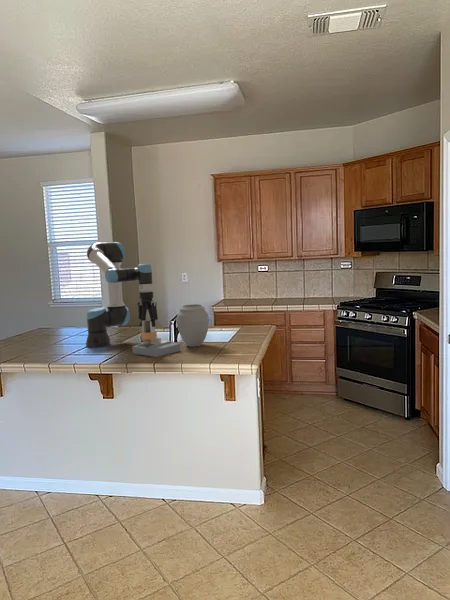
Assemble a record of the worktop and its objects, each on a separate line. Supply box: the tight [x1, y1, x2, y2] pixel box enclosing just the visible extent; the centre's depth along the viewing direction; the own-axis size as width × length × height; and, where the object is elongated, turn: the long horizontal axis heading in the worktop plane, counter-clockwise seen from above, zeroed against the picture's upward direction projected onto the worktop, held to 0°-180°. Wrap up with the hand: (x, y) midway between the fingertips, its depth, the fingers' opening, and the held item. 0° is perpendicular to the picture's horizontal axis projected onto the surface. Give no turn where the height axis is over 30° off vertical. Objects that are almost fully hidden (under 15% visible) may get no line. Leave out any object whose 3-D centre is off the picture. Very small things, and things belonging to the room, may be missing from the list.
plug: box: [140, 319, 158, 341], centre depth 262 cm, size 6×6×11 cm
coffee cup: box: [138, 321, 151, 343], centre depth 281 cm, size 10×10×15 cm
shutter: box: [151, 336, 169, 344], centre depth 269 cm, size 8×8×4 cm
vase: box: [176, 303, 210, 348], centre depth 275 cm, size 20×20×24 cm
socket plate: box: [132, 340, 181, 358], centre depth 264 cm, size 20×18×5 cm
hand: (148, 331), depth 262 cm, fingers closed on plug, 6 cm apart
